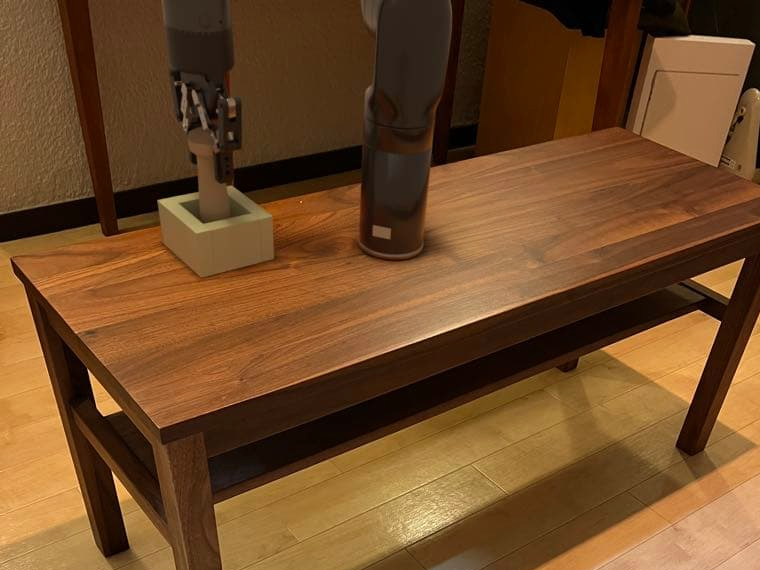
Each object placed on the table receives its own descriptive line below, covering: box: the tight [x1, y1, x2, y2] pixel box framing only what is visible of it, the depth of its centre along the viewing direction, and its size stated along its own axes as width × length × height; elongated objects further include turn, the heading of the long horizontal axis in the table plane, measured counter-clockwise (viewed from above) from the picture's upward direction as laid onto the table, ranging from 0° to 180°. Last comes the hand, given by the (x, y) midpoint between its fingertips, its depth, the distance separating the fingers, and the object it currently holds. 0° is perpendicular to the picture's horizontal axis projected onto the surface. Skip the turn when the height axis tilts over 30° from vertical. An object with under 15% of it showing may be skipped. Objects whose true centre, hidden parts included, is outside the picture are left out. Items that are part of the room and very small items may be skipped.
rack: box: [157, 185, 275, 278], centre depth 107 cm, size 11×11×6 cm
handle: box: [187, 127, 230, 224], centre depth 104 cm, size 5×6×15 cm
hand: (211, 171), depth 102 cm, fingers closed on handle, 6 cm apart
